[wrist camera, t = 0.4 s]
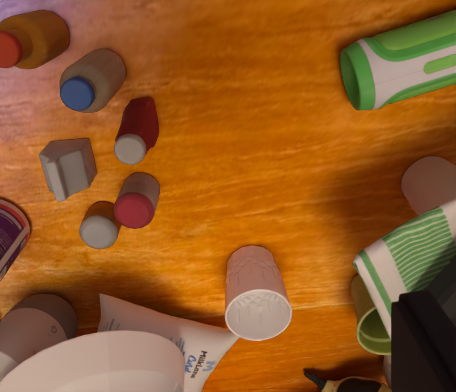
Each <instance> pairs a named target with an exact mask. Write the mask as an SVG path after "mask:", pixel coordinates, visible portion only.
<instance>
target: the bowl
mask: <svg viewBox="0 0 456 392" xmlns="http://www.w3.org/2000/svg"><path fill="white" fill-rule="evenodd" d="M184 376H185V362H184V356H183V354H182V353H181V351H180V349H179V348H178V347H177V346H176V345H175V344H174V343H172V342H171V341H170V340H168V339H166V338H164V337H162V336H160V335H157V334H153V333H149V332H145V331H135V330H114V331H103V332H98V333H92V334H87V335H82V336H79V337H76V338H72V339H69V340H66V341H62V342H60V343H58V344H55V345H53V346H51V347H48V348H46V349H44V350H42V351H40V352H38V353H36V354H35V355H33V356H31V357H30V358H28V359H26V360H24V361H23V362H22V363H20V364H19V365H18V366H17V367H15V368H14V369H13V370H12V371H10V372H9V373H8V374H7V375H6V376H5V378H4V379H3V380H2V381H1V382H0V392H184Z"/></svg>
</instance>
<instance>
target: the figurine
mask: <svg viewBox="0 0 456 392" xmlns="http://www.w3.org/2000/svg"><path fill="white" fill-rule="evenodd" d="M304 375H305V376H306V377H307V378H308V379H310V380H311V381H313V382H314V383H315V384H317V386H318V387H319V388H320V390H321V392H392V390H391V389H390V388H389V387H388V386H386V385H385V384H384V383H382V382H380V381H377V380H374V379H371V378H367V377H362V376H351V377H350V376H349V377H347V378H344V379H341V380H339V381H331V380H327V379H322V378H319V377H317V375H312V374H310V373H308V372H304Z"/></svg>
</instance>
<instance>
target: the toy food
mask: <svg viewBox="0 0 456 392" xmlns="http://www.w3.org/2000/svg"><path fill="white" fill-rule="evenodd" d="M68 43H69V33H68V29H67V27H66V25H65V23H64V22H63V20H62V19H61V18H60V17H59V16H57V15H56V14H54V13H52V12H50V11H46V10H38V11H33V12H29V13H24V14H20V15H15V16H11V17H8V18H7V19H5V20H3V21H2V22H1V23H0V67H2V68H9V67H12V66H16V67H18V68H22V69H34V68H37V67H39V66H41V65H43V64H45V63H47V62H48V61H50V60H52V59H54V58H55V57H57V56H59V55H61V54H62V53H63V52H64V51H65V50H66V48H67V46H68ZM125 76H126V69H125V65H124V63H123V61H122V60H121V58H120V57H119V56H118V55H117V54H116V53H114V52H112V51H110V50H106V49H97V50H94V51H92V52H90V53H89V54H87V55H86V56H84V57H83V58H81V59H80V60H78V61H77V62H75V63H74V64H72V65H71V66H69V67H68V68H67V69H66V70H65V71H64V72H63V74H62V76H61V79H60V96H61V99H62V101H63V103H64V104H65V105H66V106H67V107H69V108H70V109H72V110H76V111H80V112H84V113H93V112H97V111H99V110H101V109H102V108H104V107H105V106H106V105H107V103H108V102H109V101H110V100H111V98H112V97H113V96H114V94H115V93H116V92H117V91H118V89H119V88H120V87H121V86H122V84H123V83H124V80H125ZM158 133H159V126H158V120H157V114H156V109H155V104H154V100H153V99H152V98H139V99H134V100H131V101H130V103H129V104H128V105H127V106H126V108H125V110H124V113H123V117H122V122H121V126H120V128H119V131H118V134H117V136H116V139H115V141H116V143H115V146H114V152H115V155H116V157H117V158H118V159H119V160H120V161H121V162H123V163H125V164H128V165H134V164H137V163H139V162H140V161H141V160H142V159H143V158H144V155H145V154H146V153H147V151H148V150H149V149H150V148H152V147H154V146H155V143H156V141H157V138H158ZM39 157H40V160H41V164H42V167H43V171H44V174H45V177H46V181H47V184H48V188H49V190H50V191H51V192H53V193H54V195H55V198H56V200H57V201H65V200H66V199H67V198H68V197H69V196H70V195H72V194H75V193H77V192H79V191H82V190H84V189H86V188H88V187H89V186H90V185H91V183H92V181H93V179H94V177H95V176H96V174H97V171H96V166H95V162H94V157H93V153H92V148H91V143H90V140H89V139H88V138H84V139H72V140H60V141H52V142H50V143H49V144H48V145H47V146H46V147H45V148H44V149H43V150H42V152H41V153H40V154H39ZM159 194H160V188H159V184H158V182H157V181H156V180H155V179H154V178H153V177H152V176H150V175H148V174H145V173H135V174H132V175H130V176H129V177H128V178H127V179H126V180H125V182H124V184H123V186H122V188H121V191H120V193H119V195H118V198H117V200H116V202H115V204H114V205H113V204H111V203H108V202H98V203H95V204H93V205H92V206H91V207H90V208H89V210H88V211H87V213H86V215H85V217H84V219H83V221H82V223H81V225H80V231H79V232H80V236H81V238H82V240H83V241H84V242H85V243H86V244H87V245H88V246H90V247H92V248H96V249H104V248H107V247H110V246H111V245H113V244H114V243H115V241H116V239H117V237H118V233H119V230H120V227H121V224H122V225H123V226H125V227H128V228H133V229H137V228H142V227H144V226H146V225H148V224H149V223H150V222H151V220H152V219H153V216H154V213H155V210H156V206H157V202H158V198H159Z"/></svg>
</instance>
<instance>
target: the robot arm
mask: <svg viewBox="0 0 456 392" xmlns="http://www.w3.org/2000/svg"><path fill="white" fill-rule="evenodd" d="M391 389H392V392H456V327H455V326H454V324H453V323H452V321H451V320H450V319H449V317H448V316H447V314H446V313H445V311H444V310H443V309H442V307H441V306H440V304H439V303H438V302H437V300H436V299H435V297H434V296H433V294H432V293H431V292H430V291H429V290H421V291H415V292H409V293H402V294H400V295H399V300H398V301H396V302H392V304H391Z"/></svg>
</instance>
